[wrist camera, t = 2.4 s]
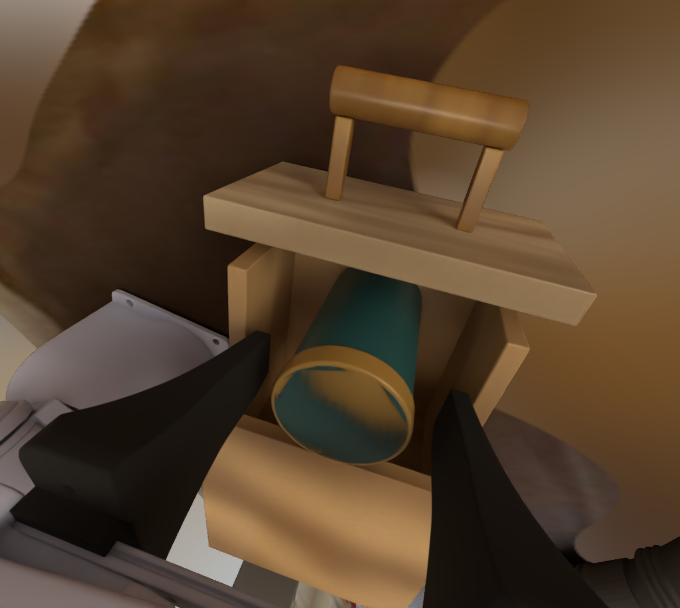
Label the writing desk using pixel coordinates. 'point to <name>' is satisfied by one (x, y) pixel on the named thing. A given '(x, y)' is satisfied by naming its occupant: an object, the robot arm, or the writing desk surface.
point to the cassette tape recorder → (284, 589)
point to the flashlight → (637, 578)
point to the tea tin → (354, 372)
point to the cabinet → (319, 517)
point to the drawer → (399, 249)
